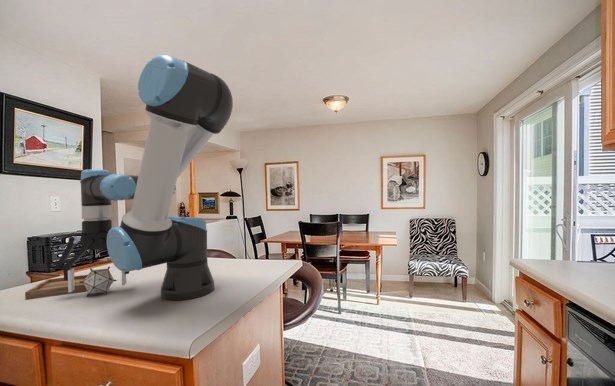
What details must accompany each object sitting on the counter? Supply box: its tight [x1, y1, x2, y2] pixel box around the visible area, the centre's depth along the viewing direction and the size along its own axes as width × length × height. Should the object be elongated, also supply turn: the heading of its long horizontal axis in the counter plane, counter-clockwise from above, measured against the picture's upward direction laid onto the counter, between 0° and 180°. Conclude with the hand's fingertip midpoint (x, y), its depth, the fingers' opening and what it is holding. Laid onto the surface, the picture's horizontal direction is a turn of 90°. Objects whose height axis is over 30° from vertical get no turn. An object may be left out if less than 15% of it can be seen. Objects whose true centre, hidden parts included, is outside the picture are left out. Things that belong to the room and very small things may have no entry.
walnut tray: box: [24, 274, 88, 300], centre depth 96 cm, size 15×15×2 cm
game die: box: [80, 266, 118, 297], centre depth 89 cm, size 9×8×10 cm
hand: (98, 287), depth 89 cm, fingers open, 13 cm apart
